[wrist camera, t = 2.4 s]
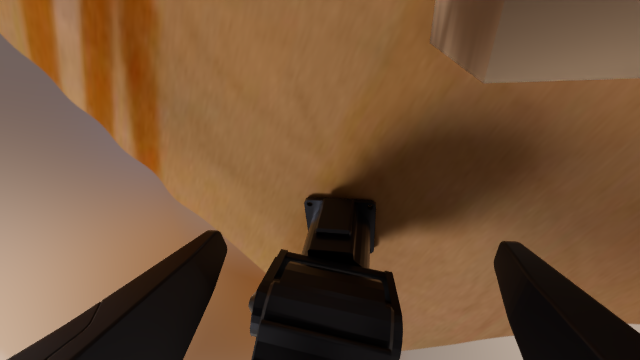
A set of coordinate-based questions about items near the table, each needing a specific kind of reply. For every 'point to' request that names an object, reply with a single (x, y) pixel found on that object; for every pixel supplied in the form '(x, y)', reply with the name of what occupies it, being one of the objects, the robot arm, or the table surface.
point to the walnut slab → (540, 38)
